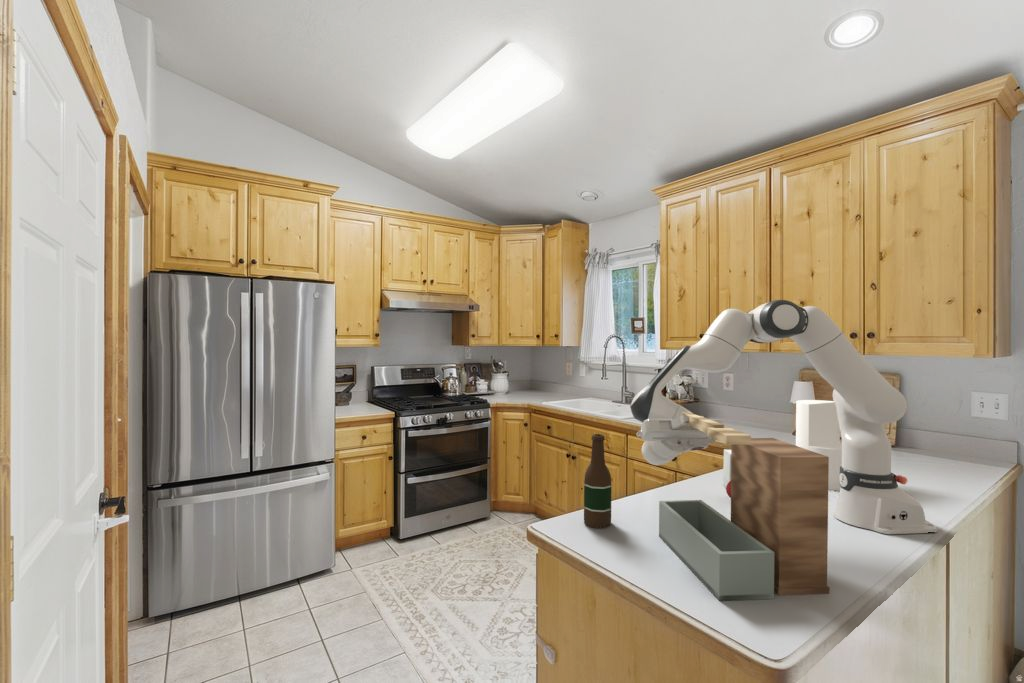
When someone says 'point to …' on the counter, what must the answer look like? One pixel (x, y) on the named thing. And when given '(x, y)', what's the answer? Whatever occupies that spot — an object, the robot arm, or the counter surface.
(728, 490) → the red round fruit
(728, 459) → the supplement box
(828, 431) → the white rectangular block
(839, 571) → the counter surface
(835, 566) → the counter surface
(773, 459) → the stand
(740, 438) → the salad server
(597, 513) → the beer bottle
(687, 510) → the bin
